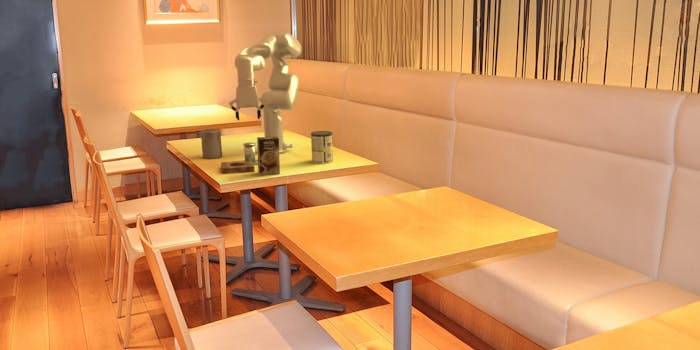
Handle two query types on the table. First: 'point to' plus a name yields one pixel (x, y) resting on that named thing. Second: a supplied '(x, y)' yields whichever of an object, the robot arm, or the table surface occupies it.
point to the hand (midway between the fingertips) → (248, 119)
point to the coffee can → (321, 147)
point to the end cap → (249, 152)
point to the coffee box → (268, 155)
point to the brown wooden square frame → (237, 167)
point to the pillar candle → (211, 143)
